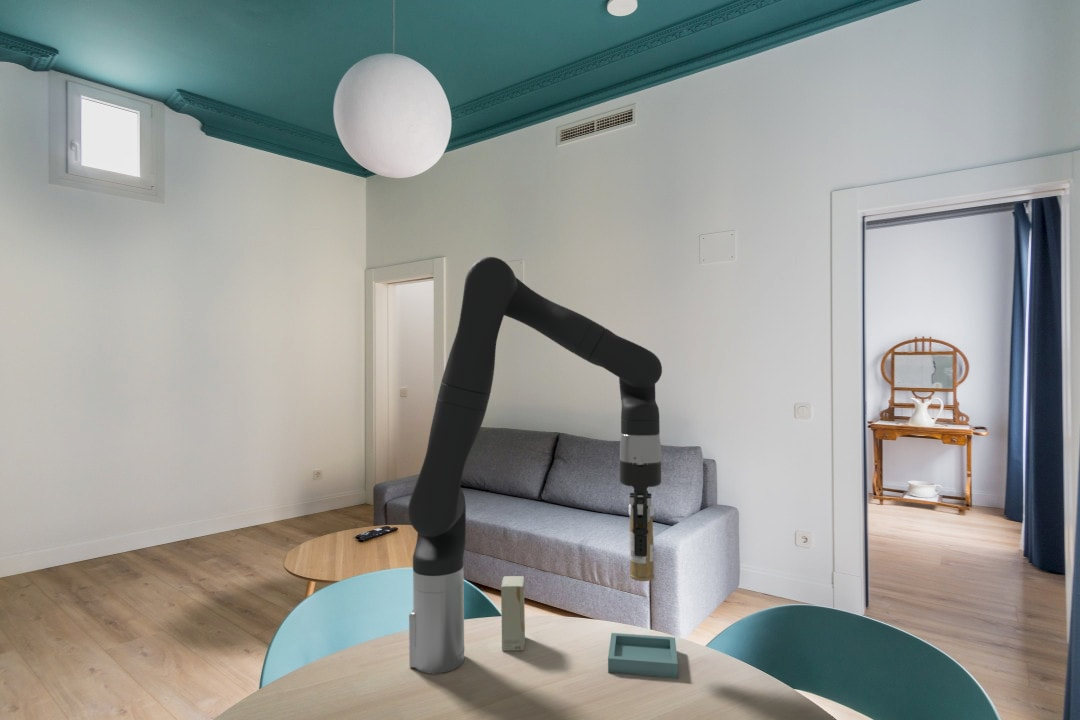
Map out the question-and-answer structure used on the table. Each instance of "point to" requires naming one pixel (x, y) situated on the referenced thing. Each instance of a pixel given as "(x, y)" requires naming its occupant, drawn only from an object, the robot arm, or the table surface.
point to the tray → (643, 655)
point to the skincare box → (513, 613)
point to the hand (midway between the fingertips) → (640, 551)
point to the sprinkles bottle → (640, 565)
